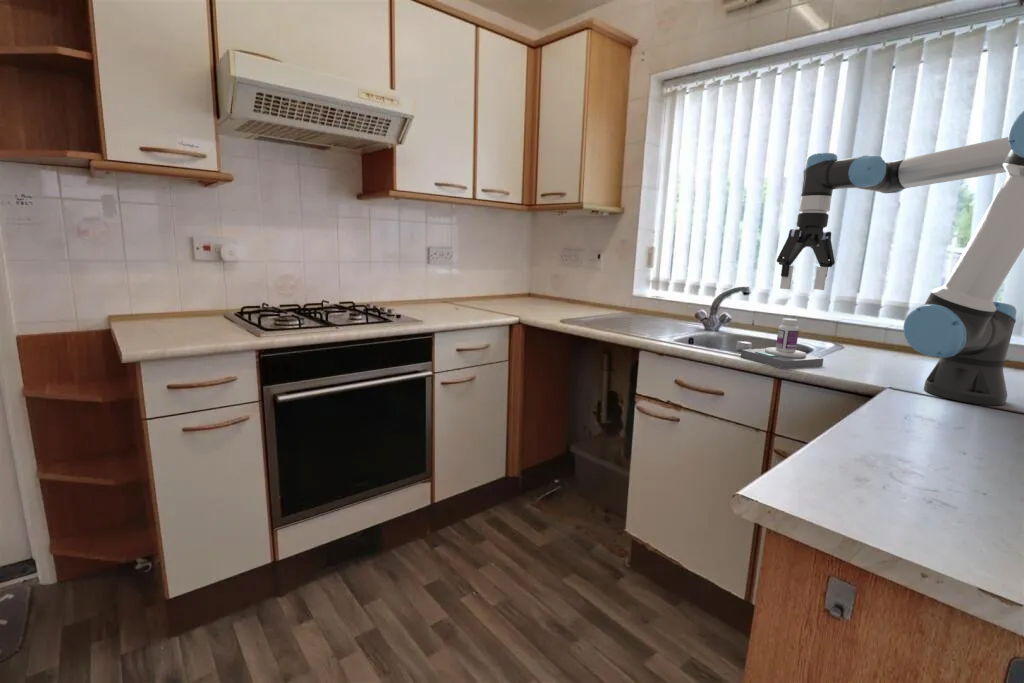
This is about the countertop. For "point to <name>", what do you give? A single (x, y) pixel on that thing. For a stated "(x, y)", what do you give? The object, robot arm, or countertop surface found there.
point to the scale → (782, 358)
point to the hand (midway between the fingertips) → (802, 289)
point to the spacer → (743, 345)
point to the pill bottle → (787, 336)
